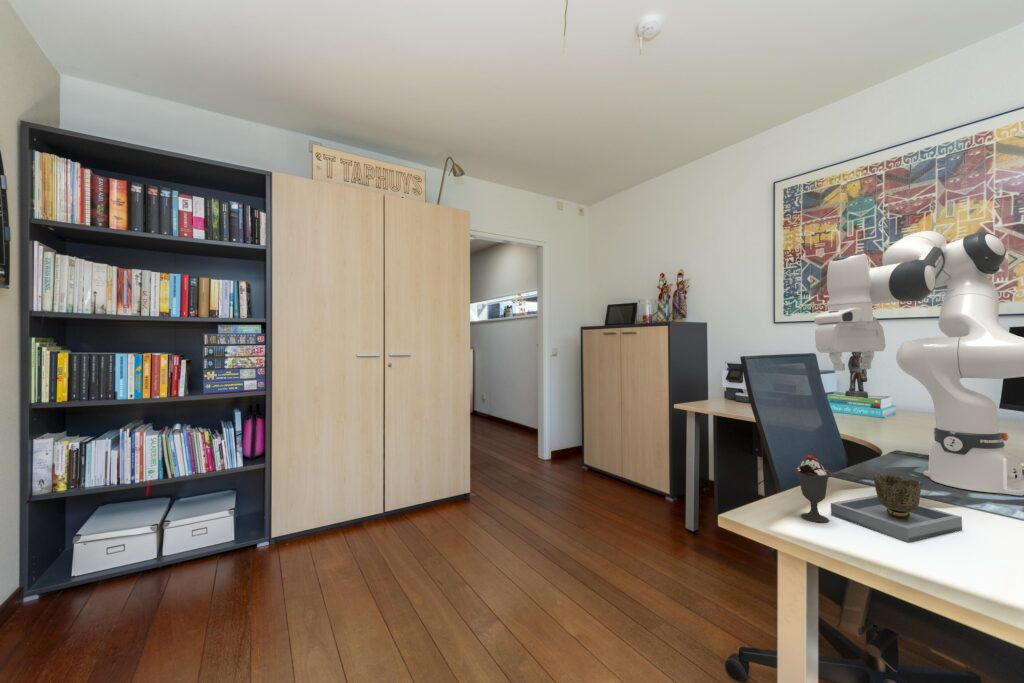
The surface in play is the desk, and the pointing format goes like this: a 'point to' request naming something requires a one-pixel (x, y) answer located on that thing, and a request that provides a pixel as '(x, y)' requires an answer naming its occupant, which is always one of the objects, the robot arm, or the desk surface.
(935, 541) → the desk surface
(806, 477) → the sundae
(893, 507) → the cup
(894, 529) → the tray
